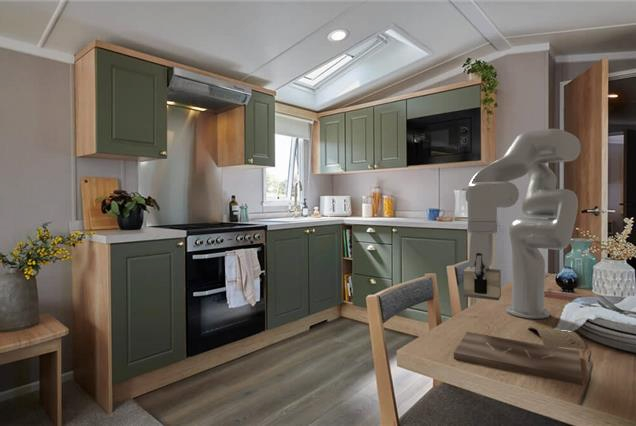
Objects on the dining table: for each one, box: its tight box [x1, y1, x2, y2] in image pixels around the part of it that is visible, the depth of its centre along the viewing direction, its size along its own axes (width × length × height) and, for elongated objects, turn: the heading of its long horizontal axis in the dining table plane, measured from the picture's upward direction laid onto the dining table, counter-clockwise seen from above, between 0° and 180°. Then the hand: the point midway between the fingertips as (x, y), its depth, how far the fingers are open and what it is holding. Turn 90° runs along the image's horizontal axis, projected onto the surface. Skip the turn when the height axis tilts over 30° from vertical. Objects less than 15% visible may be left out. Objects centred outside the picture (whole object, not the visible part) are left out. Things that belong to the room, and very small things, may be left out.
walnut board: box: [453, 331, 583, 386], centre depth 95 cm, size 16×26×2 cm, turn 58°
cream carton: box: [463, 266, 502, 301], centre depth 110 cm, size 5×9×8 cm, turn 58°
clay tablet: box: [527, 326, 587, 350], centre depth 106 cm, size 14×10×3 cm
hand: (482, 290), depth 110 cm, fingers closed on cream carton, 5 cm apart
